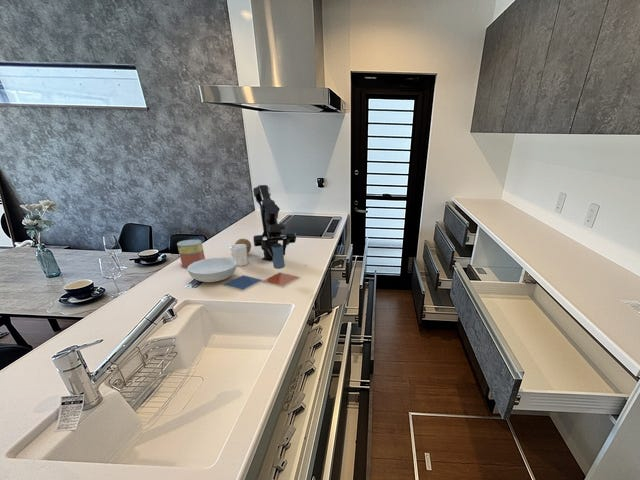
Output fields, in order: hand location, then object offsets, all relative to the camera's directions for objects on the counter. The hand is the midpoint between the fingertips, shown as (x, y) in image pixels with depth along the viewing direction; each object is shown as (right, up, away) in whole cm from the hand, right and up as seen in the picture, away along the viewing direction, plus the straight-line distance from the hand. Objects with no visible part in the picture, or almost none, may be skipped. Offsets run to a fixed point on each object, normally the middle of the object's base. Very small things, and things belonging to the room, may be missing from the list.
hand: (278, 255), depth 138 cm
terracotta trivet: (-1, -11, +8) cm, 14 cm away
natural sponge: (-32, +3, +39) cm, 50 cm away
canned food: (-52, -3, +24) cm, 57 cm away
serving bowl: (-33, -11, +8) cm, 35 cm away
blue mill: (-1, -5, +4) cm, 6 cm away
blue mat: (-17, -13, +3) cm, 22 cm away
